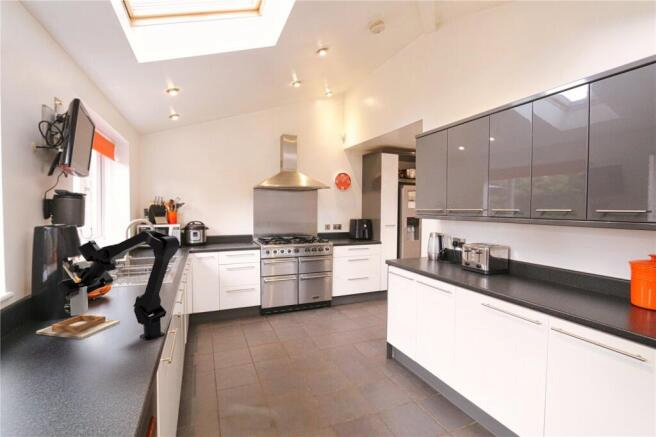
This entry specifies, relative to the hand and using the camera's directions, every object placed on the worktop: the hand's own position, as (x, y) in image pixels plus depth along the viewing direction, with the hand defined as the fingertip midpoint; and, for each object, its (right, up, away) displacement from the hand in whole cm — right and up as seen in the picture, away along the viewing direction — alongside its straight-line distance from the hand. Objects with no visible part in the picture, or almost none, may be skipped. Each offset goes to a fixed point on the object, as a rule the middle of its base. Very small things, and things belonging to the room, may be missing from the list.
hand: (76, 296), depth 125 cm
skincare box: (+1, -7, 0) cm, 7 cm away
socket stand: (+1, -13, 0) cm, 13 cm away
